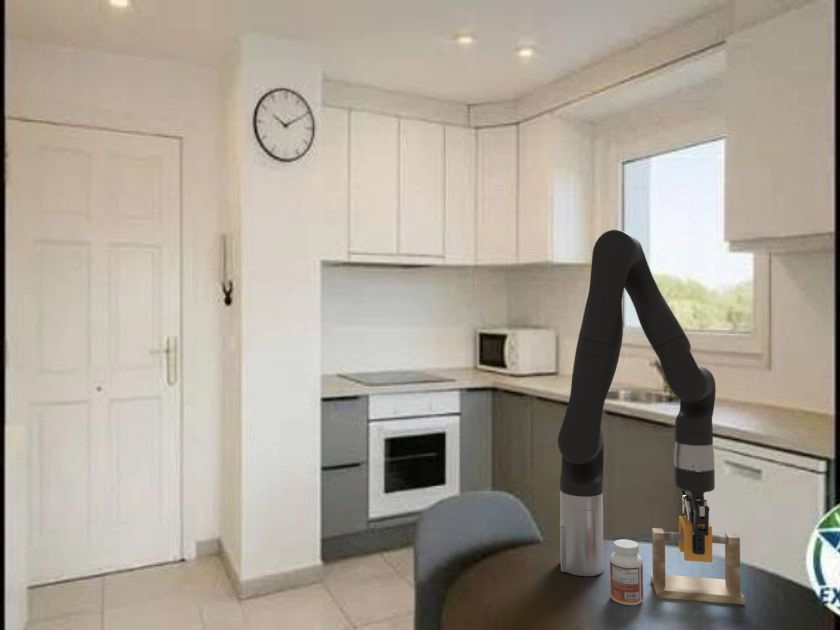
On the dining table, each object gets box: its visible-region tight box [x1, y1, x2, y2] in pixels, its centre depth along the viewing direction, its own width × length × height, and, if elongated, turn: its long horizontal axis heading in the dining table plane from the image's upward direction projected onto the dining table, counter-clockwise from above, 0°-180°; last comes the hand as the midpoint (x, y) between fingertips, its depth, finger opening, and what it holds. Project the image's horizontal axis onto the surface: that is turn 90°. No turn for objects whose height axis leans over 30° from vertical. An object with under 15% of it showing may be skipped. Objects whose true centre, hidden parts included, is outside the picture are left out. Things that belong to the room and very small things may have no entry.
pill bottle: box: [609, 539, 644, 606], centre depth 123 cm, size 6×6×11 cm
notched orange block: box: [678, 515, 713, 563], centre depth 126 cm, size 5×6×7 cm
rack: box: [650, 527, 745, 605], centre depth 126 cm, size 16×8×12 cm, turn 78°
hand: (695, 547), depth 126 cm, fingers closed on notched orange block, 5 cm apart
